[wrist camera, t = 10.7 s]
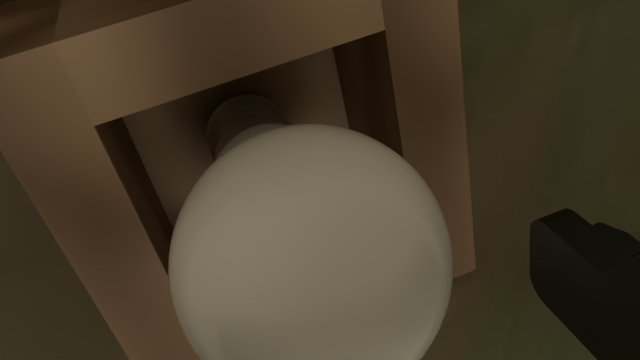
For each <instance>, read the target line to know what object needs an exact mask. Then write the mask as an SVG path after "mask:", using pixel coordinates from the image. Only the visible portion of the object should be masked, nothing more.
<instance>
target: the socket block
mask: <svg viewBox="0 0 640 360" xmlns="http://www.w3.org/2000/svg"><path fill="white" fill-rule="evenodd" d="M245 94H254V95H259V96H263V97H265V98H267V99H269V100H271V101H272V102H273V103H275V104H276V105H277V106H278V108H279V109H280V110H281V112H282V113H283V114H284V116H285V118H286V119H287V121H288V122H289V124H290V125H295V124H327V125H334V126H339V127H344V128H348V129H351V130H354V131H357V132H360V133H363V134H365V135H368V136H370V137H372V138H374V139H376V140H378V141H380V142H381V143H383V144H385V145H386V146H388V147H389V148H391V149H392V150H394V151H395V152H396V153H398V154H399V155H400V156H402V157H403V158H404V159H405V160H406V161H407V162H408V163H409V164H410V165H411V166H412V167H413V168H414V169H415V170H416V171H417V172H418V173H419V174H420V175H421V177H422V178H423V179H424V181H425V182H426V183H427V185H428V186H429V188H430V189H431V191H432V192H433V194H434V196H435V198H436V199H437V201H438V203H439V205H440V208H441V210H442V212H443V215H444V217H445V220H446V223H447V227H448V230H449V234H450V239H451V244H452V251H453V279H454V278H456V277H458V276H461V275H463V274H466V273H468V272H471V271H473V270H475V269H476V262H475V248H474V233H473V219H472V204H471V189H470V175H469V160H468V146H467V131H466V116H465V102H464V87H463V73H462V58H461V44H460V29H459V14H458V0H13V1H10V2H6V3H3V4H0V151H1V153H2V154H3V156H4V158H5V159H6V161H7V162H8V164H9V166H10V167H11V169H12V170H13V172H14V174H15V175H16V177H17V179H18V180H19V182H20V183H21V185H22V187H23V188H24V190H25V191H26V193H27V195H28V196H29V198H30V200H31V201H32V203H33V204H34V206H35V208H36V209H37V211H38V212H39V214H40V216H41V217H42V219H43V221H44V222H45V224H46V225H47V227H48V229H49V230H50V232H51V234H52V235H53V237H54V238H55V240H56V242H57V243H58V245H59V246H60V248H61V250H62V251H63V253H64V255H65V256H66V258H67V259H68V261H69V263H70V264H71V266H72V267H73V269H74V271H75V272H76V274H77V276H78V277H79V279H80V280H81V282H82V284H83V285H84V287H85V288H86V290H87V292H88V293H89V295H90V297H91V298H92V300H93V301H94V303H95V305H96V306H97V308H98V309H99V311H100V313H101V314H102V316H103V318H104V319H105V321H106V322H107V324H108V326H109V327H110V329H111V331H112V332H113V334H114V335H115V337H116V339H117V340H118V342H119V343H120V345H121V347H122V348H123V350H124V352H125V353H126V355H127V356H128V358H129V360H201V359H200V358H199V357H198V355H197V354H196V353H195V351H194V350H193V348H192V347H191V345H190V344H189V342H188V340H187V338H186V336H185V335H184V333H183V330H182V328H181V326H180V324H179V321H178V319H177V316H176V313H175V310H174V306H173V302H172V298H171V293H170V286H169V274H168V261H169V250H170V243H171V238H172V233H173V229H174V226H175V223H176V220H177V217H178V214H179V212H180V210H181V207H182V205H183V203H184V201H185V199H186V197H187V196H188V194H189V192H190V191H191V189H192V188H193V186H194V185H195V183H196V182H197V180H198V179H199V178H200V177H201V175H202V174H203V173H204V172H205V171H206V170H207V169H208V167H209V166H210V165H211V164H212V163H213V162H214V161H213V158H212V155H211V153H210V149H209V147H208V144H207V140H206V129H207V125H208V121H209V119H210V117H211V115H212V114H213V112H214V111H215V110H216V109H217V107H219V106H220V105H221V104H222V103H223V102H225V101H226V100H228V99H230V98H232V97H235V96H239V95H245Z"/></svg>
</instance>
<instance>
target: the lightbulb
mask: <svg viewBox="0 0 640 360" xmlns="http://www.w3.org/2000/svg"><path fill="white" fill-rule="evenodd" d="M206 140H207V144H208V147H209V149H210V153H211V155H212V158H213V161H214V162H213V163H212V164H211V165H210V166H209V167H208V169H207V170H206V171H205V172H204V173H203V174H202V175H201V177H200V178H199V179H198V180H197V182H196V183H195V185H194V186H193V188H192V189H191V191H190V192H189V194H188V196H187V197H186V199H185V201H184V203H183V205H182V207H181V210H180V212H179V214H178V217H177V220H176V223H175V226H174V229H173V233H172V238H171V243H170V250H169V261H168V274H169V286H170V293H171V298H172V302H173V306H174V310H175V313H176V316H177V319H178V321H179V324H180V326H181V328H182V330H183V333H184V335H185V336H186V338H187V340H188V342H189V344H190V345H191V347H192V348H193V350H194V351H195V353H196V354H197V355H198V357H199V358H200V359H201V360H421V359H422V357H423V356H424V355H425V353H426V352H427V350H428V349H429V348H430V346H431V344H432V343H433V341H434V339H435V338H436V336H437V334H438V332H439V330H440V328H441V325H442V323H443V321H444V318H445V315H446V312H447V309H448V305H449V301H450V297H451V291H452V284H453V251H452V244H451V239H450V234H449V230H448V227H447V223H446V220H445V217H444V215H443V212H442V210H441V208H440V205H439V203H438V201H437V199H436V198H435V196H434V194H433V192H432V191H431V189H430V188H429V186H428V185H427V183H426V182H425V181H424V179H423V178H422V177H421V175H420V174H419V173H418V172H417V171H416V170H415V169H414V168H413V167H412V166H411V165H410V164H409V163H408V162H407V161H406V160H405V159H404V158H403V157H402V156H400V155H399V154H398V153H396V152H395V151H394V150H392V149H391V148H389V147H388V146H386V145H385V144H383V143H381V142H380V141H378V140H376V139H374V138H372V137H370V136H368V135H365V134H363V133H360V132H357V131H354V130H351V129H348V128H344V127H339V126H334V125H327V124H295V125H290V124H289V122H288V121H287V119H286V118H285V116H284V114H283V113H282V112H281V110H280V109H279V108H278V106H277V105H276V104H275V103H273V102H272V101H271V100H269V99H267V98H265V97H263V96H259V95H254V94H245V95H239V96H235V97H232V98H230V99H228V100H226V101H225V102H223V103H222V104H221V105H220V106H219V107H217V109H216V110H215V111H214V112H213V114H212V115H211V117H210V119H209V121H208V125H207V129H206Z"/></svg>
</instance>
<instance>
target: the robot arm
mask: <svg viewBox="0 0 640 360" xmlns="http://www.w3.org/2000/svg"><path fill="white" fill-rule="evenodd" d="M530 277H531V281H532V284H533V287H534V289H535V291H536V293H537V294H538V296H539V297H540V299H541V300H542V301H543V302H544V304H545V305H546V306H547V307H548V308H549V309H550V310H551V311H552V312H553V313H554V314H555V315H556V316H557V317H558V318H559V319H560V321H561V322H562V323H563V324H564V325H565V326H566V327H567V328H568V329H569V330H570V331H571V332H572V333H573V334H574V335H575V336H576V337H577V339H578V340H579V341H580V342H581V343H582V344H583V345H584V346H585V347H586V348H587V349H588V350H589V351H590V352H591V353H592V354H593V355H594V357H595V358H596V359H597V360H640V242H639V241H637V240H636V239H635V238H634V237H632V236H631V235H630V234H628V233H626V232H624V231H621V230H619V229H616V228H614V227H611V226H608V225H606V224H603V223H601V222H600V223H597V224H595V225H591V224H590V223H588V222H587V221H586V220H585V219H583V218H582V217H581V216H580V215H578V214H577V213H576V212H574V211H573V210H571V209H563V210H560V211H558V212H555V213H553V214H550V215H547V216H545V217H542V218H540V219H537V220H535V221H533V222H532V223H531V226H530Z"/></svg>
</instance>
